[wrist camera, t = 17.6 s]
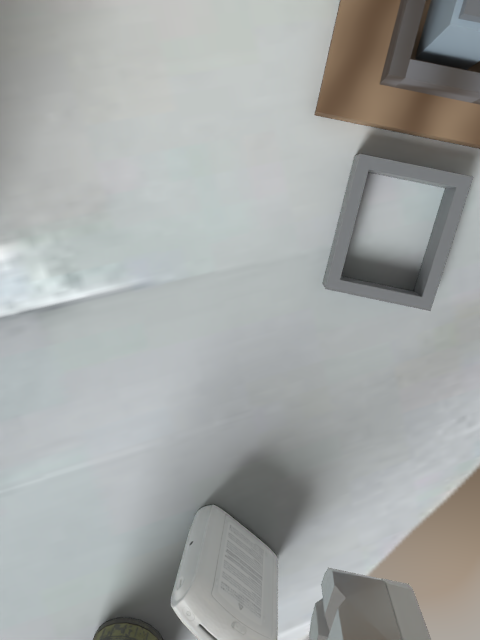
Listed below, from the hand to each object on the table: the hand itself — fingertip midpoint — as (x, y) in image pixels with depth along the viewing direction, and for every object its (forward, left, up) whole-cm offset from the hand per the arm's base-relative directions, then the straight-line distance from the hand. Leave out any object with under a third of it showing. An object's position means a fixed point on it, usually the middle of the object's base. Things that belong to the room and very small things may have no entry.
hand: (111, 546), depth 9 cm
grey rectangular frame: (+12, +6, -34) cm, 37 cm away
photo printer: (+5, -28, -34) cm, 45 cm away
